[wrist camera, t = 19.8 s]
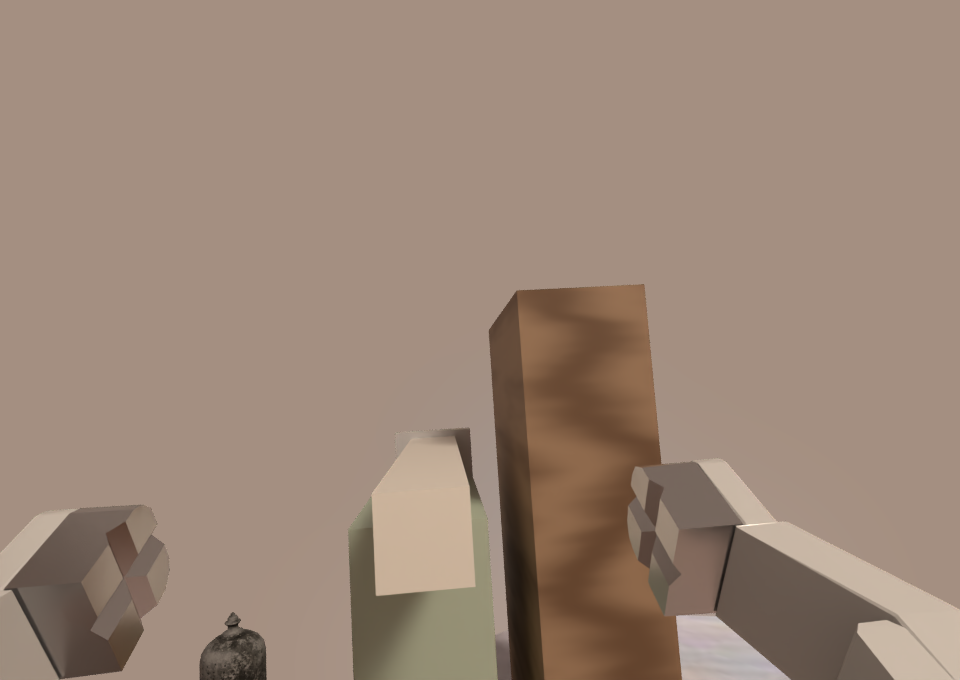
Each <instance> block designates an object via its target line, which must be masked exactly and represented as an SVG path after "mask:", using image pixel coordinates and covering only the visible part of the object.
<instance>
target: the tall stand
mask: <svg viewBox="0 0 960 680" xmlns="http://www.w3.org/2000/svg"><path fill="white" fill-rule="evenodd" d="M489 341H490V356H491V369H492V387H493V401H494V416H495V430H496V431H495V432H496V448H497V462H498V477H499V494H500V509H501V524H502V539H503V553H504V554H503V555H504V570H505V585H506V600H507V616H508V631H509V647H510V662H511V677H512V680H682V676H681V665H680V655H679V644H678V634H677V623H676V616H664V615H663V613H662V611H661V609H660V607H659V604H658V602H657V600H656V598H655V596H654V594H653V592H652V590H651V588H650V585H649V583H648V578H649V571H650V569H649V568H648V567H646V566H645V565H643V564H642V563H641V562H639V561H638V560H637V557H636V555H635V553H634V551H633V548H632V545H631V541H630V538H629V532H628V524H627V516H628V505H629V504H630V503H631V502H632V501H633V500H634V499H635V497H636V494H635V492H634V490H633V489H632V487H631V480H632V473H633V471H634V469H635V466H646V465H658V464H661V456H660V446H659V434H658V424H657V413H656V403H655V393H654V382H653V371H652V361H651V350H650V340H649V329H648V319H647V308H646V298H645V288H644V284H641V285H621V286H600V287H580V288H560V289H540V290H519V291H516V293H515V294H514V295H513V297H512V298H511V300H510V301H509V303H508V304H507V305H506V307H505V308H504V309H503V311H502V312H501V314H500V315H499V317H498V318H497V319H496V321H495V322H494V324H493V325H492V327H491V328H490V329H489Z"/></svg>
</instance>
